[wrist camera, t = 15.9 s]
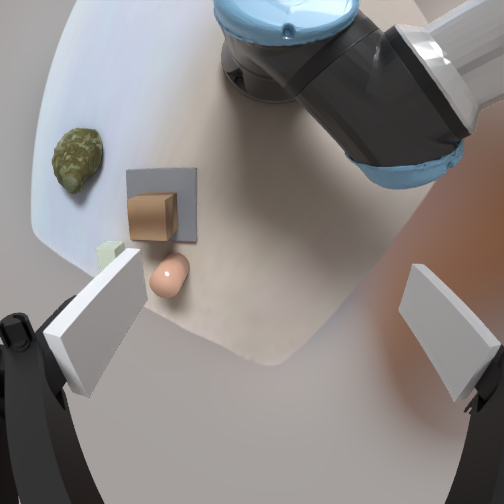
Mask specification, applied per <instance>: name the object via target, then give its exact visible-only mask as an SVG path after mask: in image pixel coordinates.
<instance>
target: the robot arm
mask: <svg viewBox="0 0 504 504" xmlns="http://www.w3.org/2000/svg"><path fill="white" fill-rule="evenodd" d="M213 2H214V15H215V17H216V21H218V24H219V25H220V26H221V29H222V31H223V34H224V36H225V41H224V43H223V47H222V53H221V60H222V66H223V69H224V71H225V74H226V75H227V77H228V79H229V81H230V82H231V83H232V85H233V86H234V87H235V88H236V89H237V90H238V91H240V92H241V93H242V94H244V95H246V96H248V97H249V98H252V99H254V100H257V101H261V102H266V103H285V102H289V101H293V100H296V101H297V102H298V103H299V104H300V105H301V106H302V107H304V108H305V109H306V110H307V111H308V112H309V113H310V114H311V115H312V116H313V118H314V119H315V120H316V121H317V122H318V123H319V124H320V125H321V126H322V127H323V128H324V129H325V130H326V131H327V132H328V133H329V134H330V135H331V137H332V138H333V139H334V140H335V141H336V142H337V143H338V144H339V145H340V147H341V148H342V149H343V150H344V151H345V155H346V156H347V158H348V159H349V160H350V161H351V162H353V163H354V164H356V165H357V166H358V167H359V168H360V169H361V170H362V172H363V173H364V174H365V175H366V176H367V177H368V178H369V179H370V180H371V181H372V182H374V183H376V184H378V185H379V186H382V187H384V188H388V189H409V188H414V187H418V186H422V185H425V184H428V183H430V182H432V181H435V180H437V179H438V178H440V177H442V176H443V175H445V174H446V173H447V169H448V168H453V167H455V166H456V165H457V163H458V162H459V161H460V159H461V158H462V155H463V152H464V139H463V138H465V137H467V136H470V135H472V134H473V133H475V130H476V125H477V121H478V116H479V113H480V112H481V110H482V109H485V108H487V107H488V106H491V105H493V104H495V103H497V102H499V101H501V100H503V99H504V0H468V1H466V2H465V3H463V4H461V5H459V6H457V7H456V8H454V9H452V10H450V11H449V12H447V13H445V14H444V15H442V16H440V17H439V18H437V19H436V20H434V21H432V22H431V23H429V24H428V25H426V26H423V27H416V26H411V25H406V24H400V23H397V24H395V25H394V26H393V27H391V28H390V29H388V30H387V31H386V32H382V31H381V30H380V29H379V28H378V27H377V26H376V25H375V24H374V23H373V22H372V21H371V20H370V19H369V18H368V17H367V16H366V15H365V14H363V13H362V12H361V11H360V10H359V8H358V7H359V0H213ZM147 300H148V298H147V292H146V285H145V278H144V271H143V263H142V255H141V249H131V248H127V249H125V250H124V251H123V252H122V253H121V254H120V255H119V256H118V257H117V258H116V259H114V260H113V261H112V262H111V263H110V264H109V265H108V266H107V267H106V268H105V269H104V270H103V271H102V272H101V273H100V274H98V275H97V276H96V277H95V278H94V279H93V280H92V281H91V282H90V283H89V284H88V285H87V286H86V287H85V288H84V289H83V290H82V291H81V292H80V293H79V294H78V295H75V296H73V297H71V298H69V299H68V300H66V301H65V302H64V303H63V304H62V305H61V306H60V307H59V308H58V310H56V311H55V312H54V313H53V315H51V316H50V317H49V318H48V319H47V320H46V322H44V324H43V325H42V326H41V327H40V328H39V329H38V330H37V331H36V332H35V333H34V331H33V328H32V326H31V323H30V321H29V318H28V316H27V315H25V314H24V313H13V314H11V315H8V316H7V317H5V318H3V319H2V320H1V321H0V337H1V339H2V341H3V343H4V345H0V504H19V499H20V502H21V504H104V502H103V500H102V498H101V495H100V494H99V491H98V489H97V487H96V485H95V483H94V480H93V478H92V475H91V473H90V471H89V468H88V466H87V463H86V461H85V458H84V455H83V452H82V450H81V447H80V444H79V441H78V438H77V435H76V432H75V428H74V425H73V421H72V418H71V414H70V410H69V407H68V403H67V398H66V394H65V392H64V390H63V388H62V387H63V386H64V384H65V383H66V381H67V383H68V385H69V387H70V388H71V390H72V392H74V393H76V394H79V395H82V396H85V397H88V398H90V396H91V394H92V392H93V390H94V388H95V386H96V385H97V383H98V381H99V379H100V378H101V376H102V374H103V372H104V370H105V369H106V367H107V365H108V364H109V362H110V360H111V358H112V357H113V355H114V353H115V351H116V350H117V348H118V346H119V345H120V343H121V341H122V340H123V338H124V337H125V335H126V333H127V332H128V330H129V328H130V327H131V325H132V323H133V322H134V320H135V319H136V317H137V315H138V314H139V312H140V311H141V309H142V307H143V306H144V304H145V303H146V301H147ZM398 311H399V312H400V314H401V315H402V317H403V318H404V320H405V321H406V323H407V324H408V326H409V327H410V329H411V330H412V332H413V333H414V335H415V336H416V338H417V339H418V341H419V343H420V344H421V346H422V348H423V349H424V351H425V352H426V354H427V356H428V357H429V359H430V361H431V362H432V364H433V366H434V367H435V369H436V371H437V372H438V374H439V376H440V377H441V379H442V381H443V383H444V384H445V386H446V388H447V390H448V392H449V393H450V395H451V397H452V399H453V401H454V402H456V401H460V400H462V399H466V398H467V397H468V396H469V394H470V393H471V392H472V390H473V389H474V387H475V388H476V390H477V391H478V392H477V394H476V395H475V397H474V398H473V399H472V400H471V402H470V403H469V404H468V406H467V407H466V408H465V410H464V412H467V410H468V409H469V408H470V407H472V410H471V411H470V412H469V414H471V416H470V422H469V427H468V431H467V436H466V440H465V444H464V448H463V452H462V455H461V459H460V462H459V466H458V469H457V472H456V475H455V478H454V481H453V484H452V487H451V489H450V492H449V495H448V497H447V499H446V502H445V504H504V346H503V345H502V344H501V343H500V342H499V340H498V339H497V338H496V337H495V336H494V335H493V334H492V332H491V331H490V330H489V329H488V328H487V327H486V326H485V325H484V324H483V322H482V321H481V320H480V319H479V318H478V317H477V316H476V315H475V314H474V313H473V312H472V311H471V310H470V309H469V308H468V307H467V305H466V304H465V303H463V301H462V300H461V299H459V297H458V296H457V295H456V294H455V293H454V292H453V291H452V290H451V289H450V288H449V287H448V286H447V285H446V284H444V283H443V282H442V281H441V280H440V279H439V278H438V277H437V276H436V275H435V274H434V273H433V272H432V271H431V270H430V269H429V268H427V267H426V266H425V265H424V264H412V266H411V270H410V274H409V277H408V280H407V284H406V287H405V290H404V293H403V297H402V300H401V303H400V306H399V308H398ZM18 495H19V499H18Z"/></svg>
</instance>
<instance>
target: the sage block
mask: <svg viewBox="0 0 504 504" xmlns="http://www.w3.org/2000/svg"><path fill="white" fill-rule="evenodd" d="M124 250H125V246H124V242H118V241H105V242H104V243H103V244H101V245H100V246H99V247H98V248H96V253H97V259H98V264H99V269H100V270H104V269H105V268H106V267H107V266H108V265H109V264H110V263H111V262H112V261H113V260H114V259H116V258H117V257H118V256H119V255H120V254H121V253H122V252H123V251H124Z"/></svg>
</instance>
